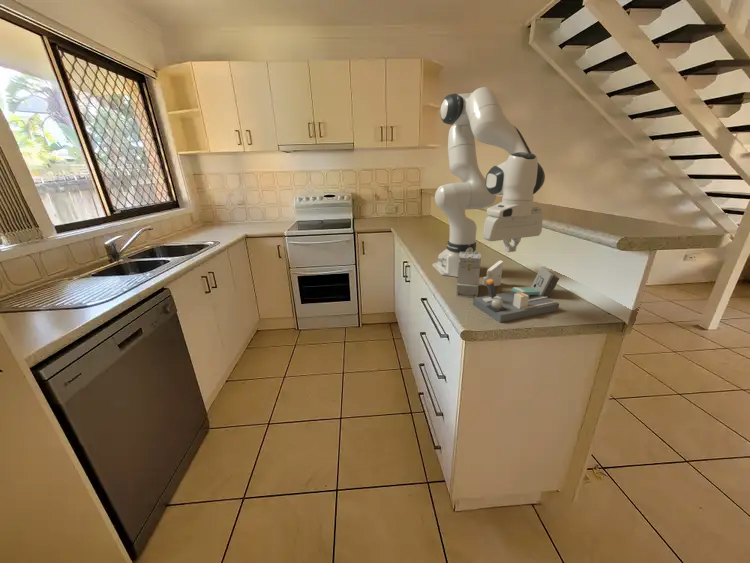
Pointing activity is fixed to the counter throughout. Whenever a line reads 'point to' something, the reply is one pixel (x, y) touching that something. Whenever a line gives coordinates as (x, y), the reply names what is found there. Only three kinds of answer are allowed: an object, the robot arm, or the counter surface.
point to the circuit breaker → (468, 274)
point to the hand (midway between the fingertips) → (510, 251)
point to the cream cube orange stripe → (520, 300)
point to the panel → (510, 312)
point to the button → (497, 303)
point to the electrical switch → (545, 282)
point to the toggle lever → (491, 288)
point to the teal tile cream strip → (526, 290)
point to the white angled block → (494, 273)
